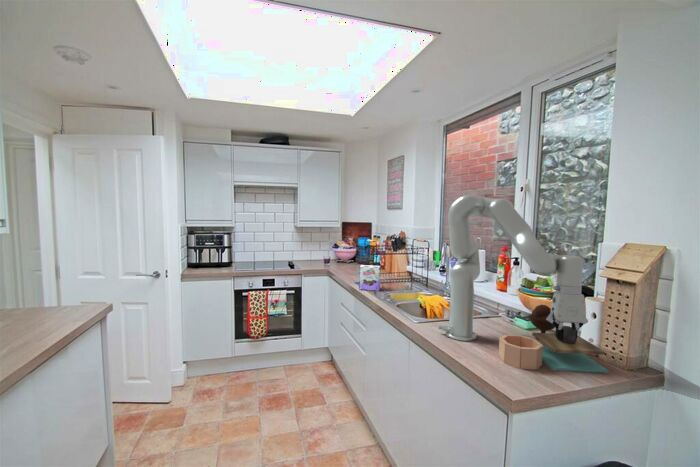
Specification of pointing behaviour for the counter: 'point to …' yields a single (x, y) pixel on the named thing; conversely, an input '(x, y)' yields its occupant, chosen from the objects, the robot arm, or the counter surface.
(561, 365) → the teal mat
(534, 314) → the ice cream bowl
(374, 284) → the candy box
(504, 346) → the terracotta bowl
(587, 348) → the walnut lid
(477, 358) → the counter surface
